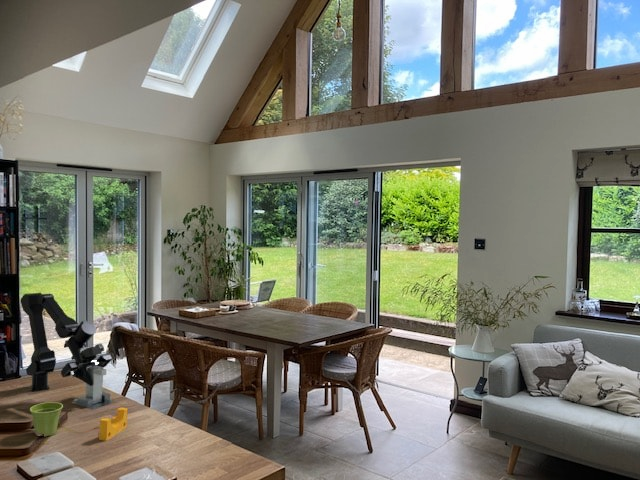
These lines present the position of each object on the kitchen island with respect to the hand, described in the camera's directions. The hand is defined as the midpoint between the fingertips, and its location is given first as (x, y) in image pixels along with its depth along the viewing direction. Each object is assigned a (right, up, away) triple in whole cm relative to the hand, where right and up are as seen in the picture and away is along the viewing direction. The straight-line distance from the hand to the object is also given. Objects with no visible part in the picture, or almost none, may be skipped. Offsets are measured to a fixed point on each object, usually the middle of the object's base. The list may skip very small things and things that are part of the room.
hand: (96, 383), depth 190 cm
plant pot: (-5, -9, -27) cm, 28 cm away
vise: (-2, -8, +1) cm, 8 cm away
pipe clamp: (+15, -10, -23) cm, 29 cm away
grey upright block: (0, -7, 0) cm, 7 cm away
